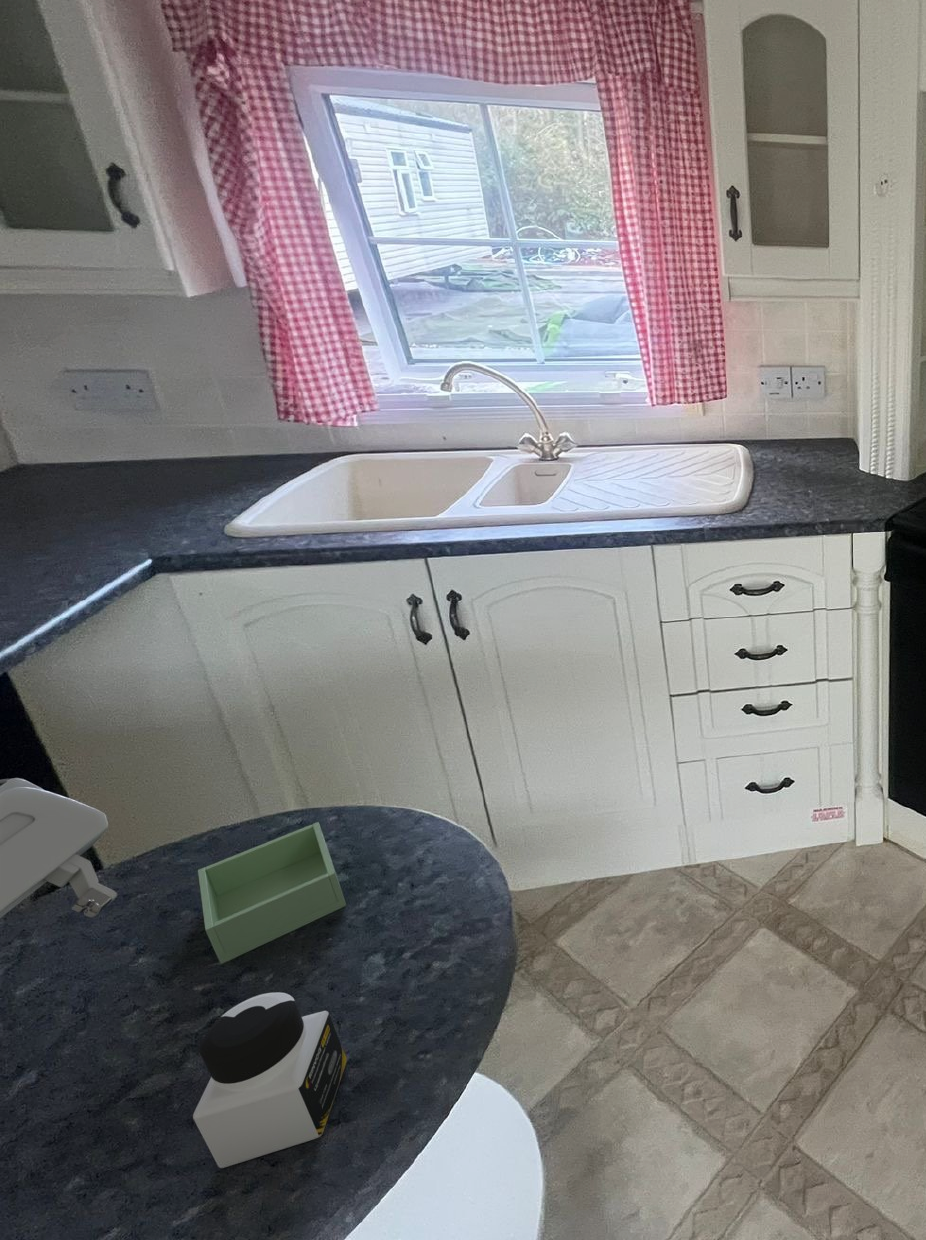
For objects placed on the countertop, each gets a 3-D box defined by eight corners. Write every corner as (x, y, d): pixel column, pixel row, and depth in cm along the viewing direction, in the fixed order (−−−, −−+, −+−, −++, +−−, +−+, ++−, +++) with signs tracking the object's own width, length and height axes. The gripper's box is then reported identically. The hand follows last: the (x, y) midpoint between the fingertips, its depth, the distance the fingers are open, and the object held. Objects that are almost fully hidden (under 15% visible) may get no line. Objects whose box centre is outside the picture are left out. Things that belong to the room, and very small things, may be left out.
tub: (220, 964, 81) (205, 930, 80) (212, 902, 88) (197, 869, 86) (346, 905, 89) (335, 873, 87) (329, 852, 95) (318, 821, 94)
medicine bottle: (322, 1138, 67) (282, 1046, 63) (217, 1171, 64) (168, 1077, 60) (348, 1059, 73) (314, 970, 69) (254, 1086, 71) (212, 995, 66)
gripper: (-16, 791, 66) (149, 872, 71) (-385, 1026, 47) (-129, 1118, 52) (18, 747, 65) (184, 833, 69) (-348, 972, 46) (-88, 1070, 50)
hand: (48, 957), depth 60 cm, fingers open, 8 cm apart
